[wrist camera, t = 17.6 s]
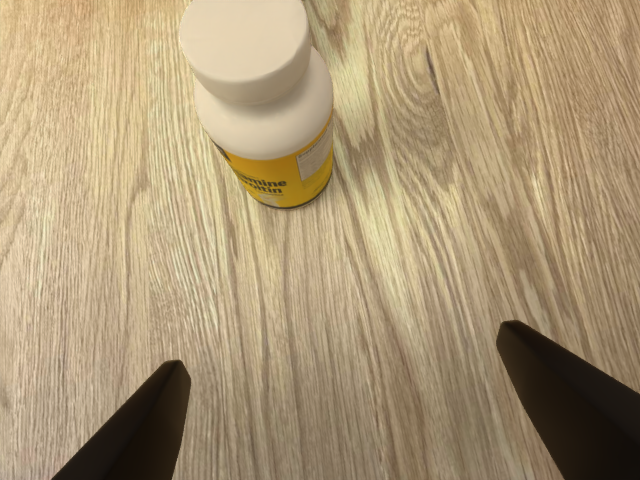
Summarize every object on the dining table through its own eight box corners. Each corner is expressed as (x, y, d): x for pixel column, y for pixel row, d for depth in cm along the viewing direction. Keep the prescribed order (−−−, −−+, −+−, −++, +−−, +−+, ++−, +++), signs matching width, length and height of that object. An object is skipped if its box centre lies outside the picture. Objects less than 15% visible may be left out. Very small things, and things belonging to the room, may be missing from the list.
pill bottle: (227, 159, 23) (121, 6, 11) (302, 115, 23) (272, -72, 12) (272, 231, 21) (203, 138, 10) (351, 182, 22) (369, 42, 11)
